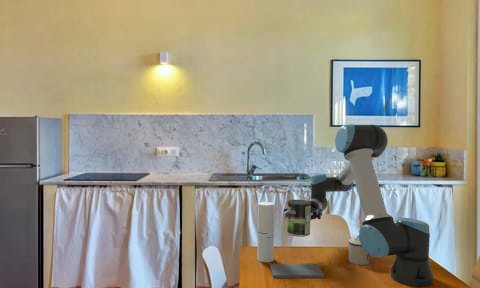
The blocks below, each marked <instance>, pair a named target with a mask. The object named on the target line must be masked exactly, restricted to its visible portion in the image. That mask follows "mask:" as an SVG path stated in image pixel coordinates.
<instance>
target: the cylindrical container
mask: <svg viewBox="0 0 480 288" xmlns="http://www.w3.org/2000/svg"><path fill="white" fill-rule="evenodd" d="M274 230H275V203H274V202H269V201H260V202H258V203H257V243H256V244H257V245H256V246H257V253H256V256H257V259H256V260H257V261H258V262H260V263H270V262H273V261H274V252H275V251H274V249H275V248H274V242H275V241H274V240H275V239H274V237H275V231H274Z"/></svg>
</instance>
